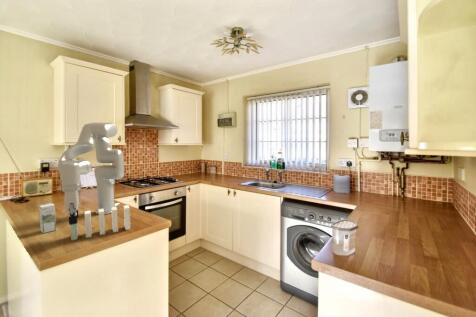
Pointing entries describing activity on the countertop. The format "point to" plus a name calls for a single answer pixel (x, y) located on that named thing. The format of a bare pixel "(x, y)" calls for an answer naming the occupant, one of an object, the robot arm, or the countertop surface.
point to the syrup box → (47, 217)
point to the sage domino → (74, 231)
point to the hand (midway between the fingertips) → (74, 220)
